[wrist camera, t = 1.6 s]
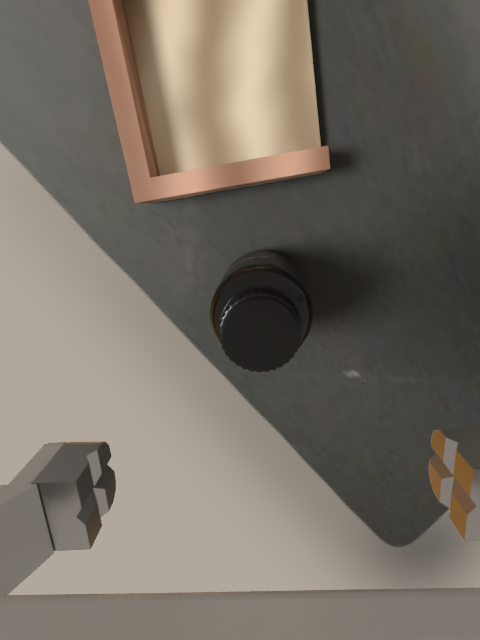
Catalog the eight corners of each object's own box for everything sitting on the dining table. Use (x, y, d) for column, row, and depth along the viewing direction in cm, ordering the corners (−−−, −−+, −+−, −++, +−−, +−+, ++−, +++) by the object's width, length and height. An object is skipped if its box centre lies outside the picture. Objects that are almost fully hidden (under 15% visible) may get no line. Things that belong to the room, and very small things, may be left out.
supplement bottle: (254, 232, 32) (250, 247, 20) (317, 281, 32) (349, 323, 21) (206, 296, 33) (178, 344, 22) (268, 341, 34) (272, 410, 23)
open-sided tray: (298, -60, 26) (305, -106, 22) (321, 173, 30) (330, 168, 26) (102, -14, 27) (76, -50, 23) (150, 203, 31) (134, 203, 27)
